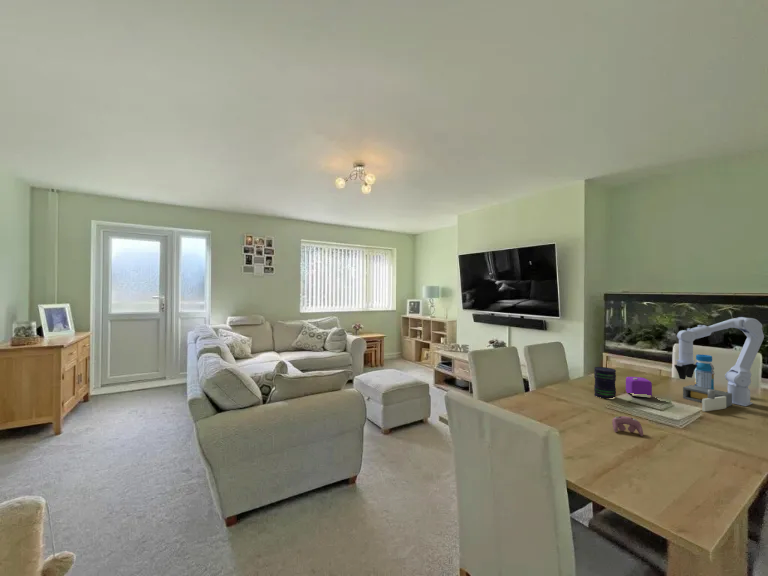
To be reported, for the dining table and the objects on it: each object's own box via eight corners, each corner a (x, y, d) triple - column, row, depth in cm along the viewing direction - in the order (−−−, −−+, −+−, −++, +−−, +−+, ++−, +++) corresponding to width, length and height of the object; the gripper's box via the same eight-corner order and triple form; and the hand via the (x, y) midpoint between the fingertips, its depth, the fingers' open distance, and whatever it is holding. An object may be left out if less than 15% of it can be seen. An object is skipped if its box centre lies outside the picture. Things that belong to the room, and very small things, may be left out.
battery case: (691, 395, 180) (691, 384, 180) (731, 405, 165) (731, 393, 165) (683, 398, 176) (683, 387, 176) (724, 407, 161) (724, 395, 161)
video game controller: (641, 437, 132) (639, 419, 135) (644, 436, 128) (642, 417, 131) (612, 433, 136) (610, 415, 139) (614, 431, 132) (612, 413, 135)
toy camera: (639, 391, 187) (638, 374, 188) (656, 399, 174) (656, 380, 174) (618, 390, 188) (618, 373, 189) (634, 398, 175) (634, 379, 175)
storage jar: (620, 399, 173) (620, 371, 173) (601, 399, 173) (601, 371, 173) (607, 393, 183) (607, 366, 183) (590, 393, 183) (590, 366, 183)
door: (700, 410, 157) (700, 390, 158) (722, 407, 162) (722, 387, 162) (706, 411, 155) (706, 391, 155) (728, 408, 159) (728, 389, 160)
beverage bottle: (701, 391, 187) (701, 356, 188) (690, 387, 196) (690, 353, 196) (718, 392, 186) (718, 357, 186) (706, 388, 194) (706, 354, 194)
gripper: (683, 350, 184) (683, 374, 184) (669, 352, 178) (669, 377, 178) (699, 352, 178) (699, 377, 178) (686, 355, 171) (686, 381, 171)
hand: (685, 378), depth 177 cm, fingers open, 7 cm apart
